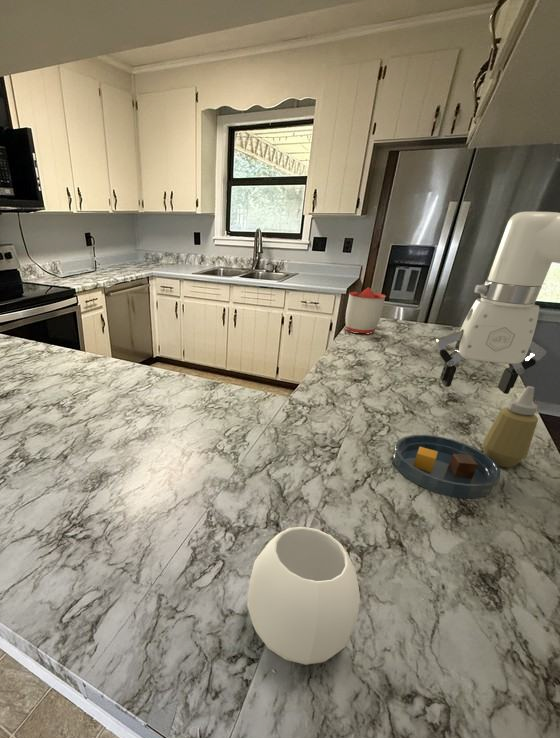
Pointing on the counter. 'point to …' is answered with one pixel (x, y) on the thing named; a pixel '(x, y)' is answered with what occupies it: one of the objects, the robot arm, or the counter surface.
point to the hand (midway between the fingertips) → (473, 387)
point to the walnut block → (462, 466)
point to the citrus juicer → (364, 311)
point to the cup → (304, 595)
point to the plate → (446, 467)
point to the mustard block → (425, 459)
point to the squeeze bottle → (512, 431)
